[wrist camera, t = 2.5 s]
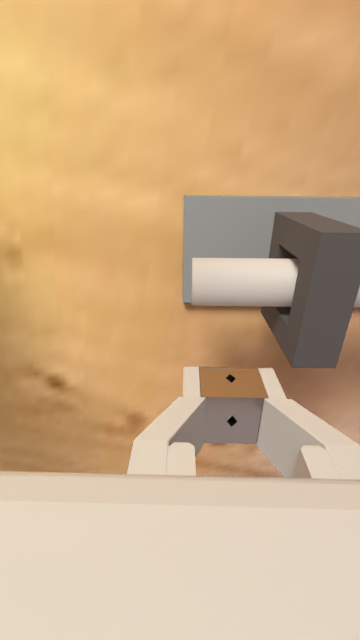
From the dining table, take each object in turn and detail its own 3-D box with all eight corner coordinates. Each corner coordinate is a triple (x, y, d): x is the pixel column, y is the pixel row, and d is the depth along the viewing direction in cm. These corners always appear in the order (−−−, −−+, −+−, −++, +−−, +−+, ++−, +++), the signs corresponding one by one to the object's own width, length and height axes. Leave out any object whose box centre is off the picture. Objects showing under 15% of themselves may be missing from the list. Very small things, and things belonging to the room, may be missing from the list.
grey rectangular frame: (260, 311, 24) (292, 367, 17) (275, 212, 21) (321, 232, 14) (292, 312, 24) (335, 368, 17) (311, 212, 21) (375, 232, 14)
